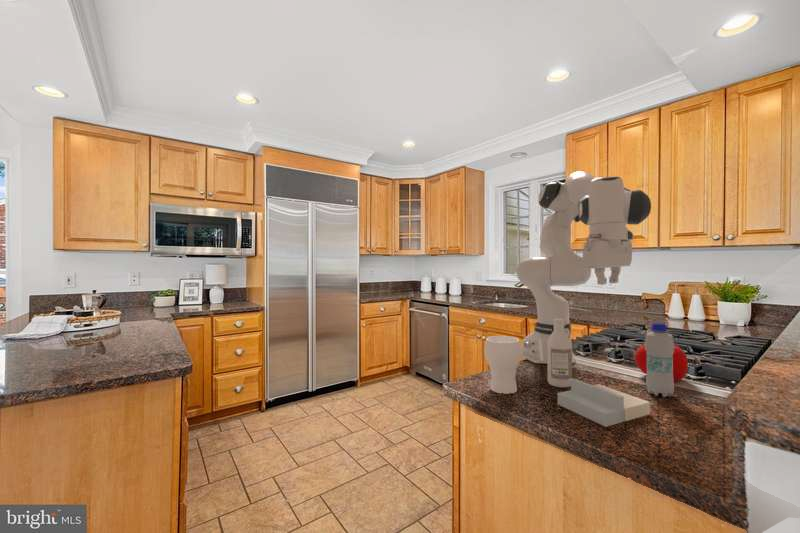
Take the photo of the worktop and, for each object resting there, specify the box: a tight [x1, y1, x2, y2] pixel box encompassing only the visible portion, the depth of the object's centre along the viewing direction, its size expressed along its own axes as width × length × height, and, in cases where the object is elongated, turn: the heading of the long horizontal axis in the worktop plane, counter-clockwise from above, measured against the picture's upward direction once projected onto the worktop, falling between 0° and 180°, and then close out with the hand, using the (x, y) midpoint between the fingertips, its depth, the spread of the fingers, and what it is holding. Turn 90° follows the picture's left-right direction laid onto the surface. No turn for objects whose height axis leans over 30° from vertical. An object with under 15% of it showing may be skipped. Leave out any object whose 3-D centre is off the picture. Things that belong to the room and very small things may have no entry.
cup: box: [484, 335, 522, 395], centre depth 106 cm, size 11×11×15 cm
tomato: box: [634, 343, 689, 382], centre depth 111 cm, size 12×14×11 cm
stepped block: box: [556, 378, 625, 428], centre depth 89 cm, size 14×6×6 cm, turn 22°
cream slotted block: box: [593, 383, 651, 422], centre depth 91 cm, size 14×9×3 cm, turn 22°
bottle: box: [644, 322, 675, 398], centre depth 99 cm, size 7×7×20 cm
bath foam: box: [546, 318, 573, 388], centre depth 109 cm, size 7×7×20 cm
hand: (608, 283), depth 99 cm, fingers open, 5 cm apart
